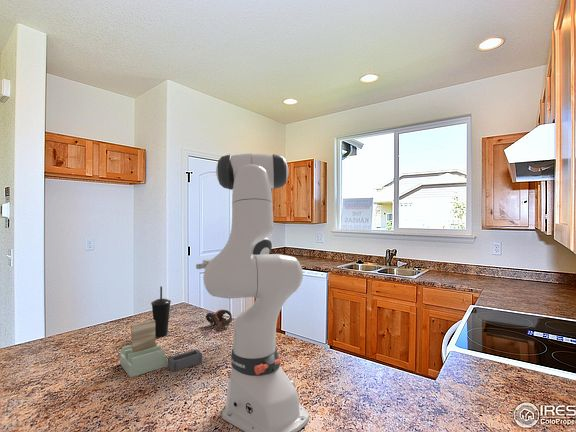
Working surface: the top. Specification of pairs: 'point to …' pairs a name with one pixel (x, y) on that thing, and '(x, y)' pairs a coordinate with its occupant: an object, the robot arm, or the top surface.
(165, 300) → the drinking cup
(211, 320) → the pottery mug
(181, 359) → the board stand
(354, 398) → the top surface
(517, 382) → the top surface
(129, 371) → the dish rack
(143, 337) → the maple board
